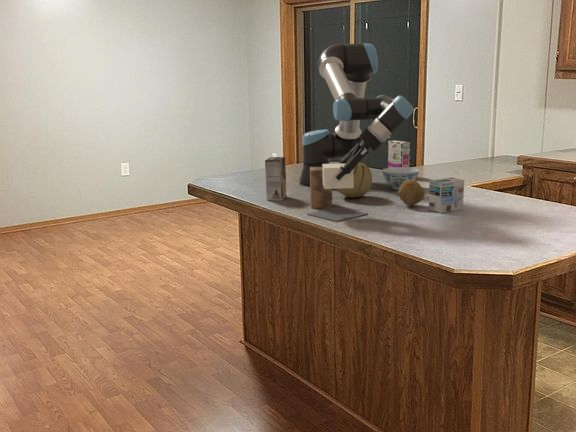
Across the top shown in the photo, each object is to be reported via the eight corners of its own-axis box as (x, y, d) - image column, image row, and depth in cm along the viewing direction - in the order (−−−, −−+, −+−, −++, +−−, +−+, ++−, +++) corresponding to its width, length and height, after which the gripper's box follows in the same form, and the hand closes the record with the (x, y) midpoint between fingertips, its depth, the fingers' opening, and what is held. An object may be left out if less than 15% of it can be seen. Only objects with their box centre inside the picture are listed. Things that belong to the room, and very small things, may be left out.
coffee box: (271, 195, 250) (270, 156, 246) (286, 196, 249) (285, 156, 245) (266, 200, 241) (264, 160, 238) (282, 200, 240) (280, 160, 236)
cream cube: (350, 182, 216) (350, 163, 214) (353, 187, 206) (353, 167, 205) (322, 183, 216) (322, 164, 214) (324, 188, 206) (324, 168, 205)
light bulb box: (440, 213, 212) (441, 182, 210) (427, 209, 218) (428, 180, 215) (464, 209, 217) (465, 179, 214) (450, 206, 223) (451, 176, 220)
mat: (337, 208, 225) (337, 206, 225) (367, 214, 213) (367, 213, 213) (307, 214, 215) (307, 213, 215) (336, 222, 204) (336, 220, 204)
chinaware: (408, 192, 248) (408, 174, 246) (375, 189, 257) (375, 171, 255) (424, 186, 260) (425, 168, 258) (392, 183, 269) (392, 166, 267)
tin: (330, 203, 233) (330, 166, 230) (332, 207, 226) (331, 169, 222) (310, 203, 233) (309, 167, 230) (311, 208, 226) (310, 170, 222)
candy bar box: (410, 177, 282) (410, 142, 278) (401, 178, 280) (401, 142, 276) (396, 174, 291) (396, 139, 288) (387, 175, 289) (387, 140, 286)
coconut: (392, 205, 227) (392, 178, 225) (412, 202, 230) (413, 176, 228) (406, 209, 219) (406, 182, 217) (427, 206, 222) (427, 179, 220)
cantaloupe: (326, 198, 242) (326, 160, 239) (349, 192, 253) (349, 156, 249) (357, 202, 232) (357, 163, 229) (379, 196, 243) (379, 158, 239)
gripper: (388, 146, 197) (339, 196, 201) (377, 139, 219) (334, 184, 222) (371, 130, 196) (323, 181, 199) (362, 125, 218) (319, 170, 221)
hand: (328, 182), depth 211 cm, fingers closed on cream cube, 10 cm apart
